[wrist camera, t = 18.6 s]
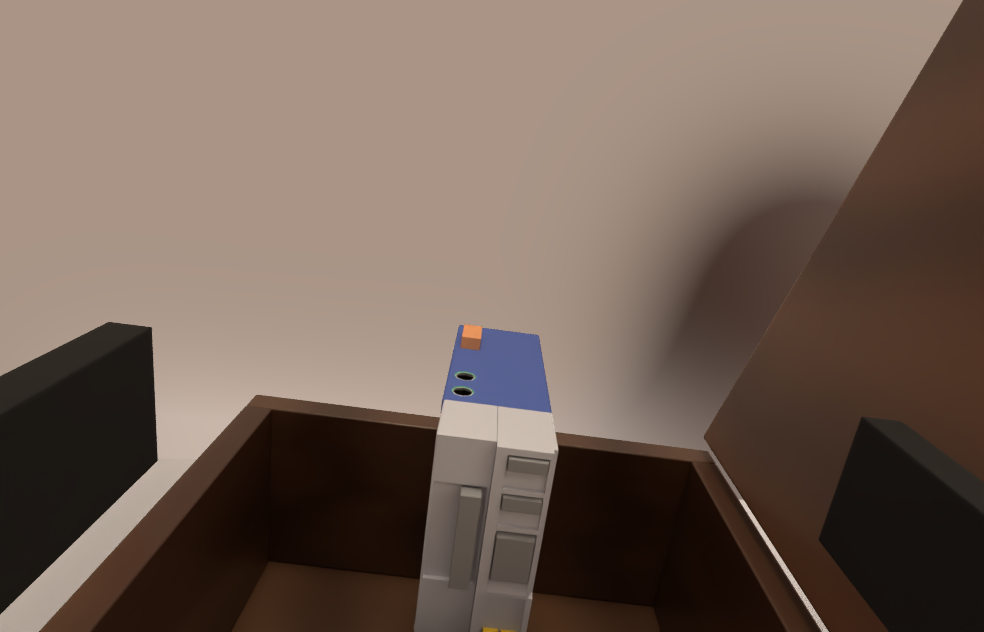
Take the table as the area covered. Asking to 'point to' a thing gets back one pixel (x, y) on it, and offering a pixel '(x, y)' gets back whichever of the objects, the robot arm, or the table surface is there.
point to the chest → (401, 532)
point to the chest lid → (874, 326)
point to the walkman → (488, 486)
